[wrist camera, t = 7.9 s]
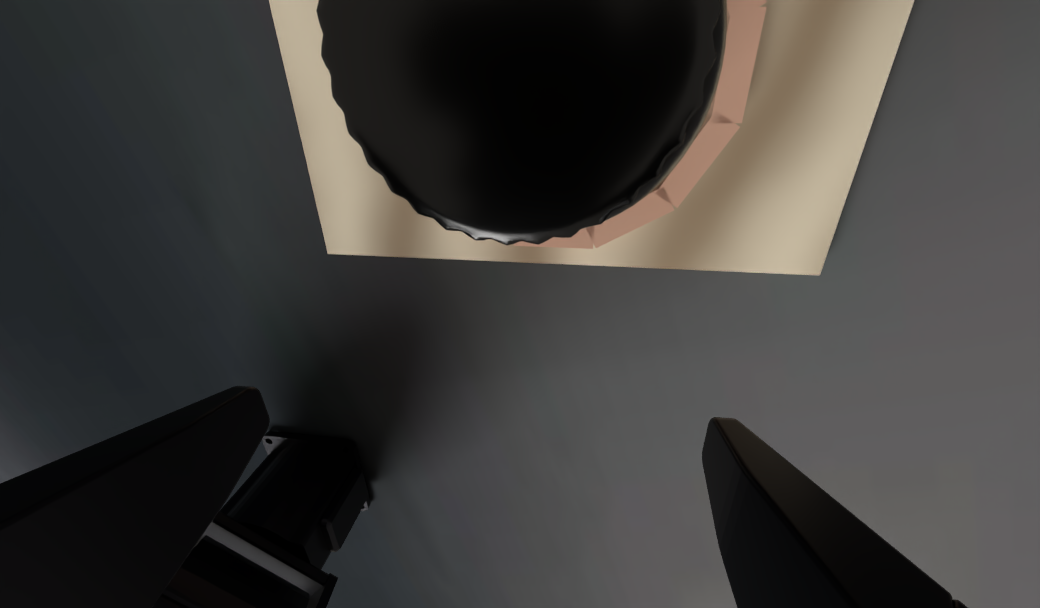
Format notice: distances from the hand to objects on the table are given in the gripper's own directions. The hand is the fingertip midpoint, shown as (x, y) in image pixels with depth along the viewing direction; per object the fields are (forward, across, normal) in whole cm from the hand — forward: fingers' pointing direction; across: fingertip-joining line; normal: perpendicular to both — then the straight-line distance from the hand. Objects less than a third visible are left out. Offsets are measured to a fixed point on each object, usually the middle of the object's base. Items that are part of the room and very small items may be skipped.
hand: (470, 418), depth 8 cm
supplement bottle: (+12, -1, -6) cm, 13 cm away
